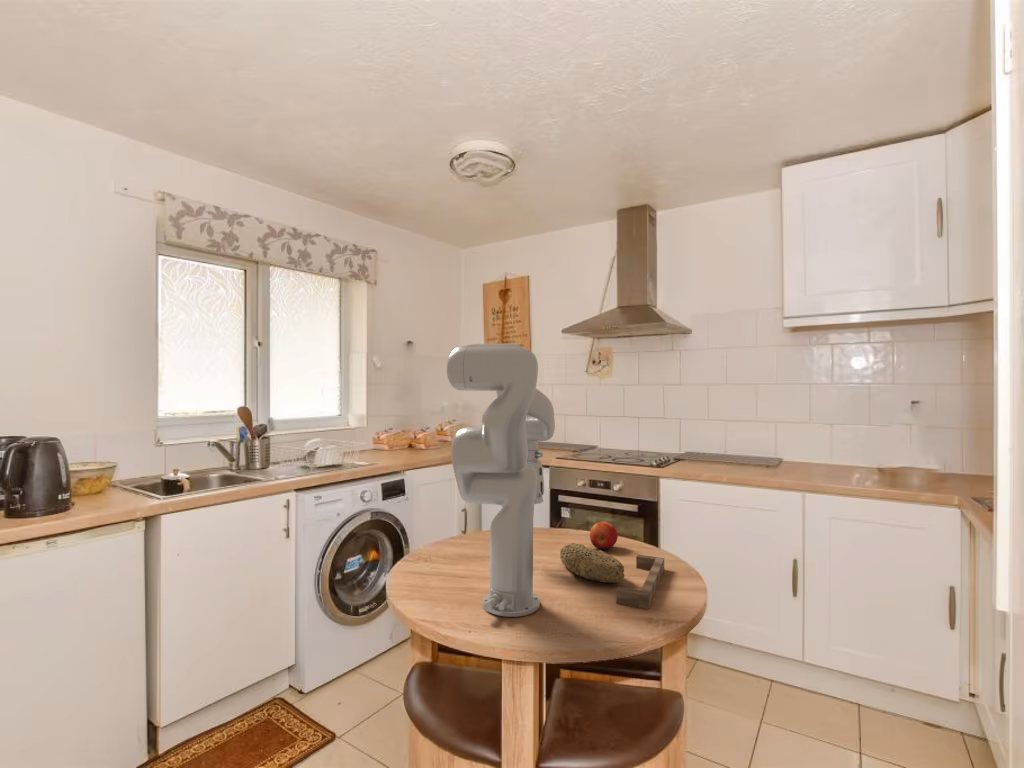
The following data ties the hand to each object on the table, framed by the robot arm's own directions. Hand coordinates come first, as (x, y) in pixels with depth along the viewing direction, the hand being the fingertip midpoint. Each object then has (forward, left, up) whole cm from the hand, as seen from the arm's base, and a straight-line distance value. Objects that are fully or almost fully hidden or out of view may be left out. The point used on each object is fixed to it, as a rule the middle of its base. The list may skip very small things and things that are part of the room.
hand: (523, 522), depth 138 cm
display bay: (-1, -32, -11) cm, 34 cm away
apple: (+23, -16, -12) cm, 31 cm away
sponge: (+1, -18, -12) cm, 22 cm away
